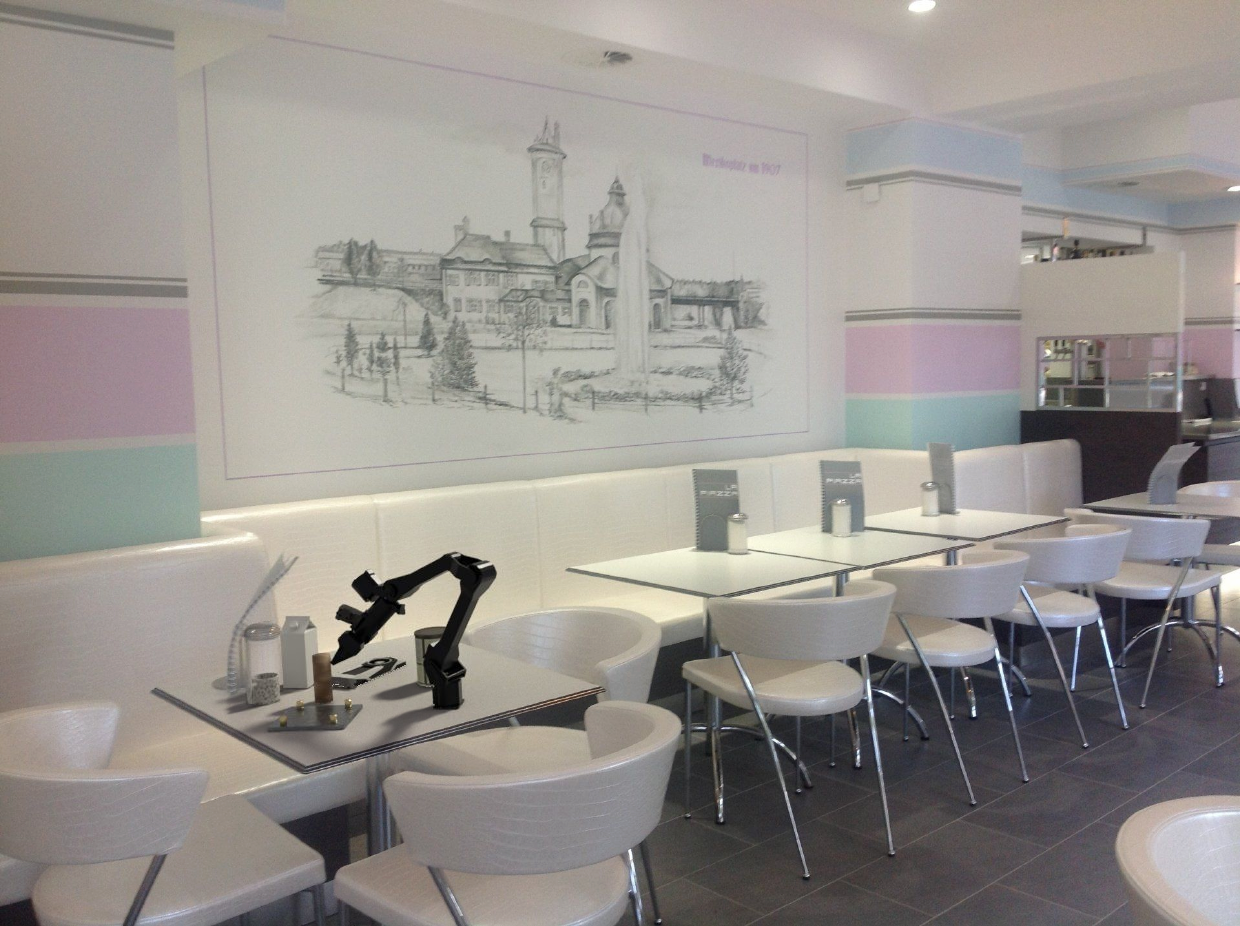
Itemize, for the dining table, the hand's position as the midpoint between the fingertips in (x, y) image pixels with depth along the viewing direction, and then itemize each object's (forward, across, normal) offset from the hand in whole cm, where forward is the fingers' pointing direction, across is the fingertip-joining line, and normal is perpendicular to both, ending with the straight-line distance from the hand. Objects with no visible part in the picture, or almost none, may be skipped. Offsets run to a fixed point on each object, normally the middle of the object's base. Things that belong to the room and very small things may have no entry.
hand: (336, 659), depth 270 cm
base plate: (+8, +15, +7) cm, 19 cm away
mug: (+22, 0, -6) cm, 23 cm away
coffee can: (-8, -14, +24) cm, 28 cm away
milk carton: (+18, -16, -2) cm, 24 cm away
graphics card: (+7, -23, +10) cm, 26 cm away
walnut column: (+10, 0, +5) cm, 11 cm away
